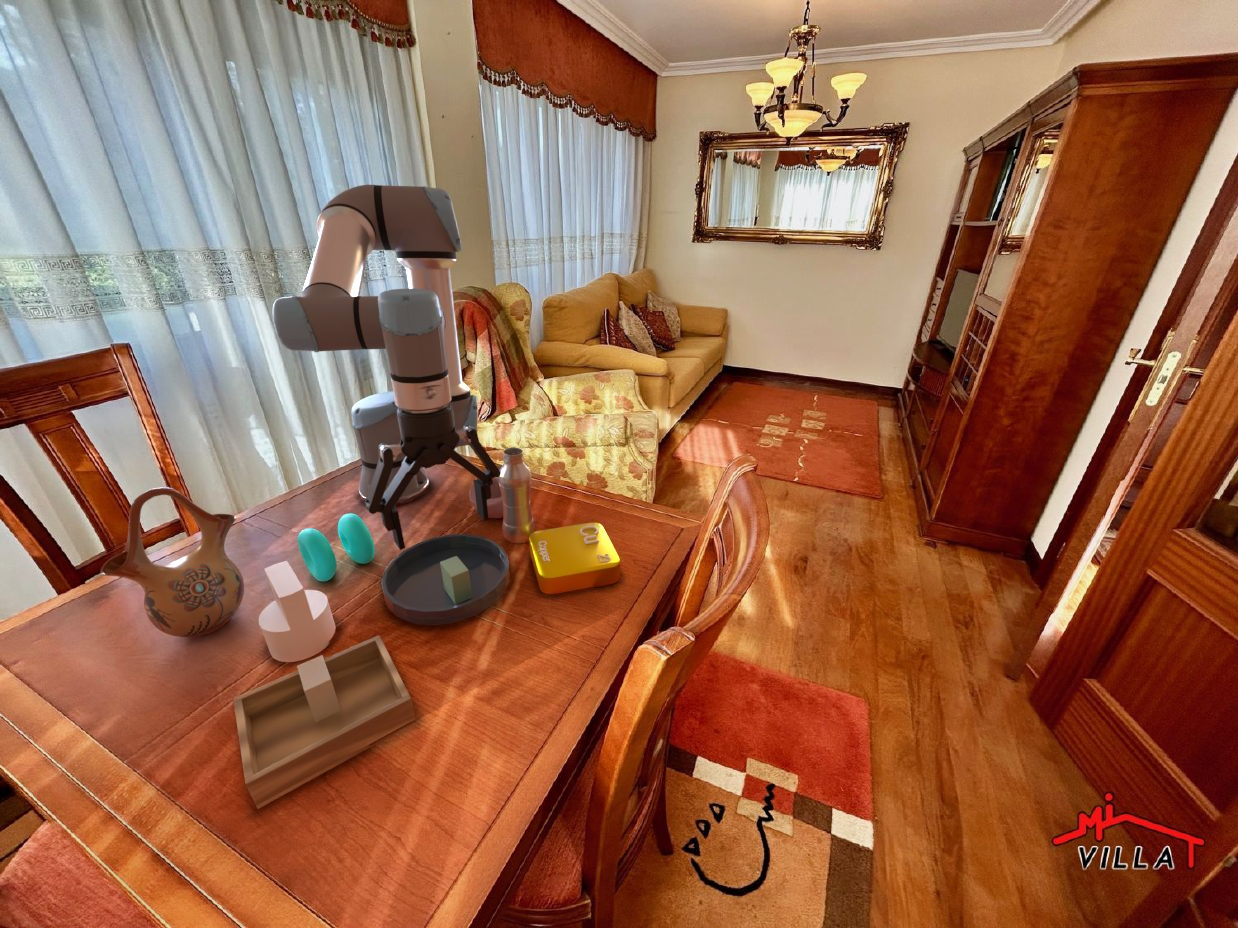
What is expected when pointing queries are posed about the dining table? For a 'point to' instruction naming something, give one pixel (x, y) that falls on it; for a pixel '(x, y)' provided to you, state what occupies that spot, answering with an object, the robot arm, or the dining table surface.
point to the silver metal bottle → (516, 497)
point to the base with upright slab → (294, 617)
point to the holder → (301, 748)
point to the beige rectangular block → (318, 688)
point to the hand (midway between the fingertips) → (443, 530)
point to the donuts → (321, 553)
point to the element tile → (573, 558)
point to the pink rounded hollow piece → (494, 502)
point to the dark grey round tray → (420, 583)
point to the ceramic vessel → (183, 574)
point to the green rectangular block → (456, 579)
